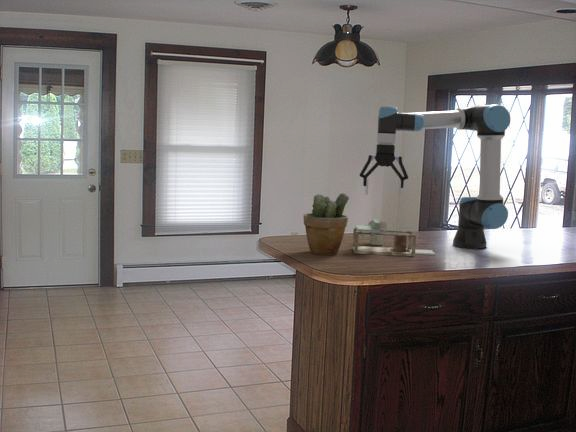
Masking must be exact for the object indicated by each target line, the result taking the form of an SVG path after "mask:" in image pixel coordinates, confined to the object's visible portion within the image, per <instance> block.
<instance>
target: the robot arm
mask: <svg viewBox="0 0 576 432" xmlns="http://www.w3.org/2000/svg"><path fill="white" fill-rule="evenodd" d="M377 118H378V120H377V133H376V134H377V137H376V143H377V144H376V147H375V148H376V150H375V155H371V154H369V155H368V157H367V161H366V162H365V164H364V165H363V168H362V169H361V171H360V172H359V175H358V176H359V177H361V178H363V183H362V184H363V187H365V189H364V190H365V192H364V194H365V195H368V193H369V180H370V179H369V176H370V175H371V174H372V173H373V172H374V171H375V170H376V169H377V168H378V167H379V166H380V167H387V168H388V167H390V168H391V169H392V170H393V171H394V173H395V174H396V175H397V177H398V178H399V179H398V181H397V183H398V184H397V196H398V197H400V196H401V189H403V188H404V182H405V180H408V179H409V174H408V172H407V171H406V168H405V165H404V163H403V157H402V156H400V155H399V156H395V149H396V146H395V145H394V144H396V134H397V131H399V132H401V131H402V132H420V131H421V130H432V129H434V130H435V129H453V128H454V129H455V128H456V130H458V131H459V130H461V131H463V130H465V131H467V130H468V131H474V132H475V131H476V136H477V137H478V139H479V140H480V153H479V155H480V157H479V158H480V159H479V160H480V161H479V194H478V195H477V196H462V197H461V198H460V200H459V203H458V204H459V205H458V206H459V208H458V223H457V230H456V232H455V234H454V238H453V240H452V245H453V246H454V247H459V248H464V249H465V248H466V249H472V248H483V249H485V248H484V247H486V248H487V244H488V243H487V239H486V238H487V237H486V235H485V229H489V230H498V229H499V228H501V227H503V226H504V224H506V222H507V220H508V217H509V210H508V208H507V207H506V205H504V197H503V196H502V195H501V165H502V164H501V163H502V161H501V159H502V158H501V157H502V155H501V153H502V148H501V147H502V140H503V138H505V136H506V130H507V129H508V128H509V126H510V125H511V115H510V112H509V110H508V109H507V108H506V107H505V106H503V105H501V104H495V103H493V104H477V105H473V106H468V107H458V108H456V109H455V110H441V111H439V110H438V111H437V110H436V111H418V112H417V111H415V112H399V111H398V107H396V106H381V107H379V110H378V117H377ZM374 160H375V162H376V163H374V165H373V166H372V167H371V168H370V169H369V170H368V171H367V169H368V167H369V165H370V164H371V162H372V161H374ZM395 161H396V162H397V163H398V165H399V167H400V169H401V173H400V171H399V170H398V168H397V167H396V166H395V164H394V162H395ZM365 172H366V173H365Z"/></svg>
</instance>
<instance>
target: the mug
mask: <svg viewBox="0 0 576 432" xmlns="http://www.w3.org/2000/svg"><path fill="white" fill-rule="evenodd" d="M379 222H380V230H387V226H388V222H386V221H385V222H384V221H379ZM363 226H372V220H371V221H370V220H369V221H368V224H364V225H363ZM368 233H378V232H368ZM380 233H387V232H380ZM363 235H364V234H359V237H360V238H361V239H362V240H365V241H366V240H367V241H369V244H370V245H373V246H383V245H384V244H385V243H384V241H385V237H386V235H369V236H368V237H365V236H363Z"/></svg>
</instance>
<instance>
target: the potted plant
mask: <svg viewBox="0 0 576 432" xmlns="http://www.w3.org/2000/svg"><path fill="white" fill-rule="evenodd" d="M349 200H350V197H349V195H347V194H346V193H344V192H342V193H339V195H338V196H337V197H336V200H331V199H330V197H329V196H324V195H323V194H320V193H318V194H315V195H314V196H313V203H312V210H311V212H308V213H307V212H306V213H303V214H302V215H303V225H304V228H305V234H306V240H307V244H308V248H309V252H310V253H311V254H314V255H318V254H319V255H320V256H333V255H337V254H338V253H339V250H340V247H341V246H342V245H341V244H342V241H343V239H344V234H345V232H346V228H347V225H348V220H349V216H348V215H346V214H343V213H344V210H345V208H346V204H347V203H348V201H349Z"/></svg>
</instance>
